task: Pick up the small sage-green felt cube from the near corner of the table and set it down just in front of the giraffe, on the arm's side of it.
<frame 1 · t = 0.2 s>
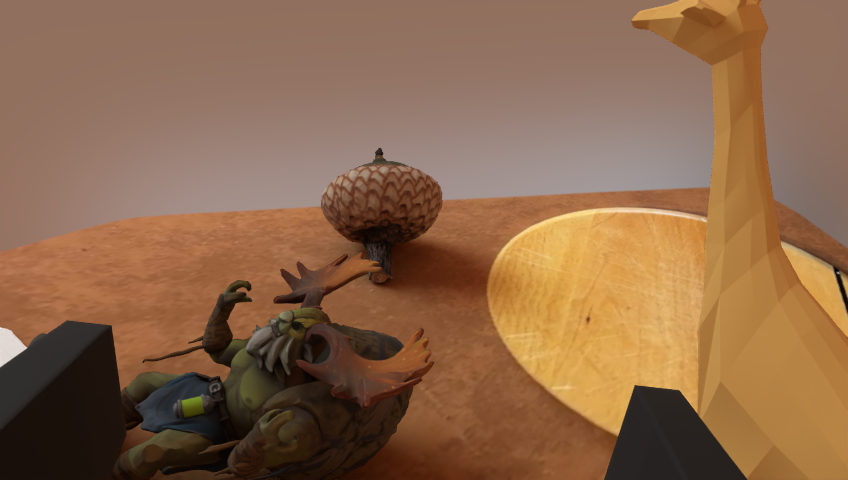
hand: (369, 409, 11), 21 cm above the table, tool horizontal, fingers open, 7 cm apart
acorn: (382, 285, 51), on the table
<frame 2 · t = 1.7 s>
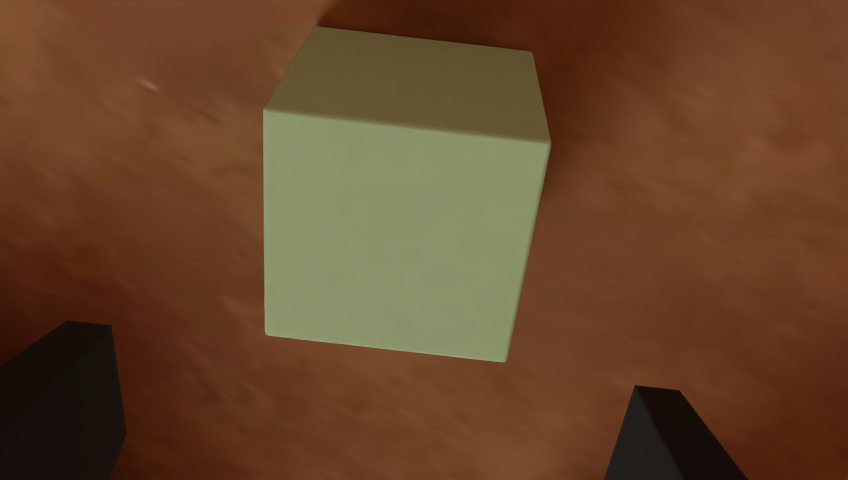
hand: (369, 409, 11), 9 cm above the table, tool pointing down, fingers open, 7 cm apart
felt cube: (413, 138, 19), on the table
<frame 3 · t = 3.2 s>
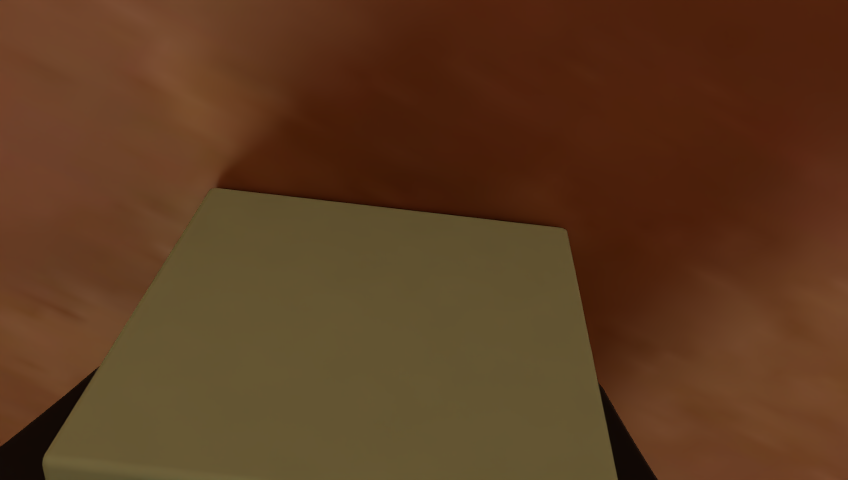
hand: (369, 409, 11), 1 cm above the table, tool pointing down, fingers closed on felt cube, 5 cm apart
felt cube: (376, 345, 12), on the table, touching gripper
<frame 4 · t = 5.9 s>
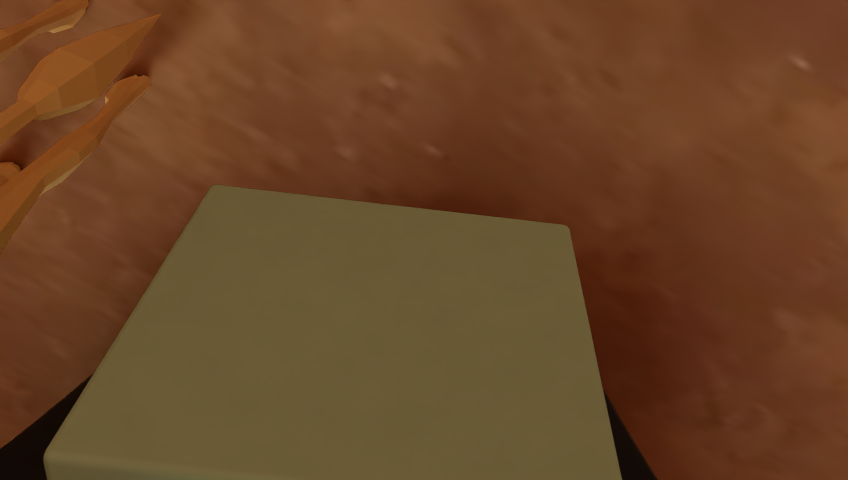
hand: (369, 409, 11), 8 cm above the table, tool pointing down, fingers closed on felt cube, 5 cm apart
felt cube: (378, 342, 12), point 6 cm above the table, touching gripper
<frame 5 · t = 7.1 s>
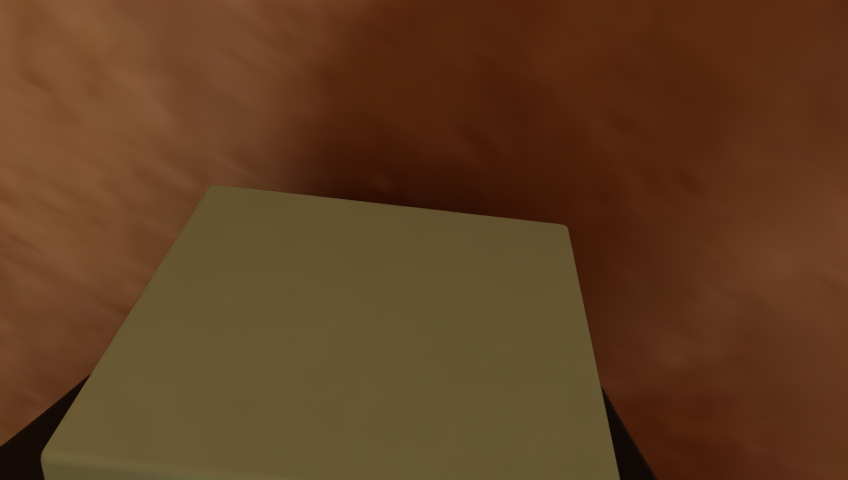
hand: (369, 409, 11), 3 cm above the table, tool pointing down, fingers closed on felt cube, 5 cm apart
felt cube: (376, 342, 12), point 1 cm above the table, touching gripper
when the fingers open (1 cm above the table, at t = 8.0 s): felt cube stays where it is, on the table.
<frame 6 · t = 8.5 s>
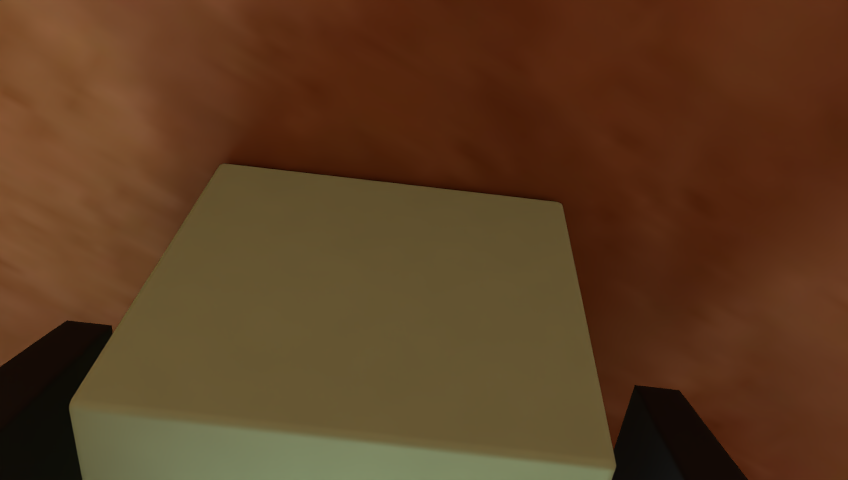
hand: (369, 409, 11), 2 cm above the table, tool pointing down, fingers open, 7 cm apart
felt cube: (379, 317, 12), on the table
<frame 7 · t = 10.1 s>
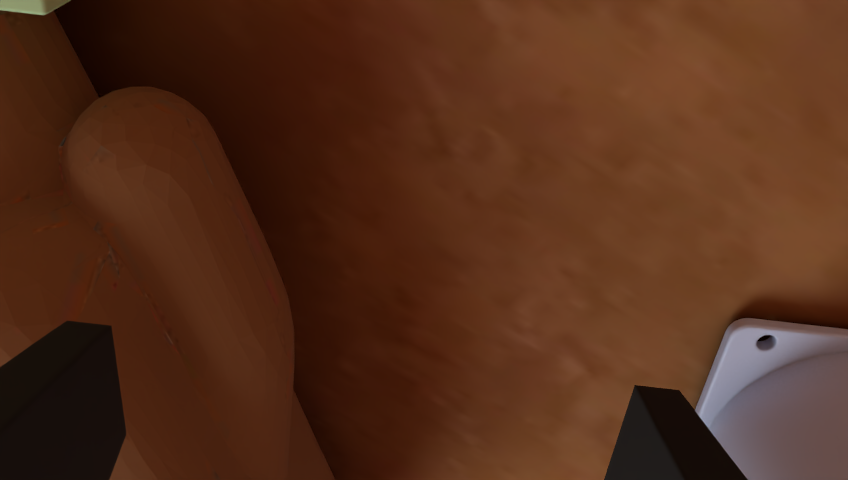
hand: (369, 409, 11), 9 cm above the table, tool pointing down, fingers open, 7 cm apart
toy: (124, 348, 23), on the table
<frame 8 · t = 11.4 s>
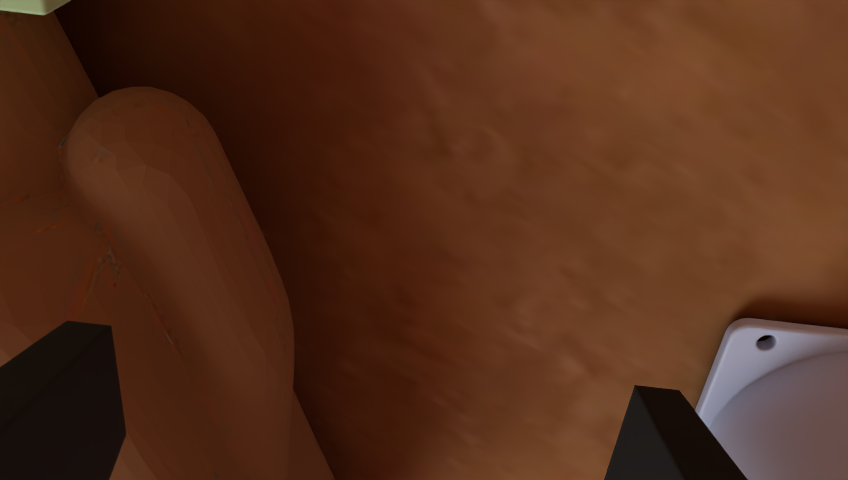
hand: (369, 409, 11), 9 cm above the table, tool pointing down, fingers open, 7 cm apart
toy: (124, 348, 23), on the table
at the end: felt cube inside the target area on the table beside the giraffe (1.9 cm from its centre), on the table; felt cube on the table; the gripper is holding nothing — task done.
